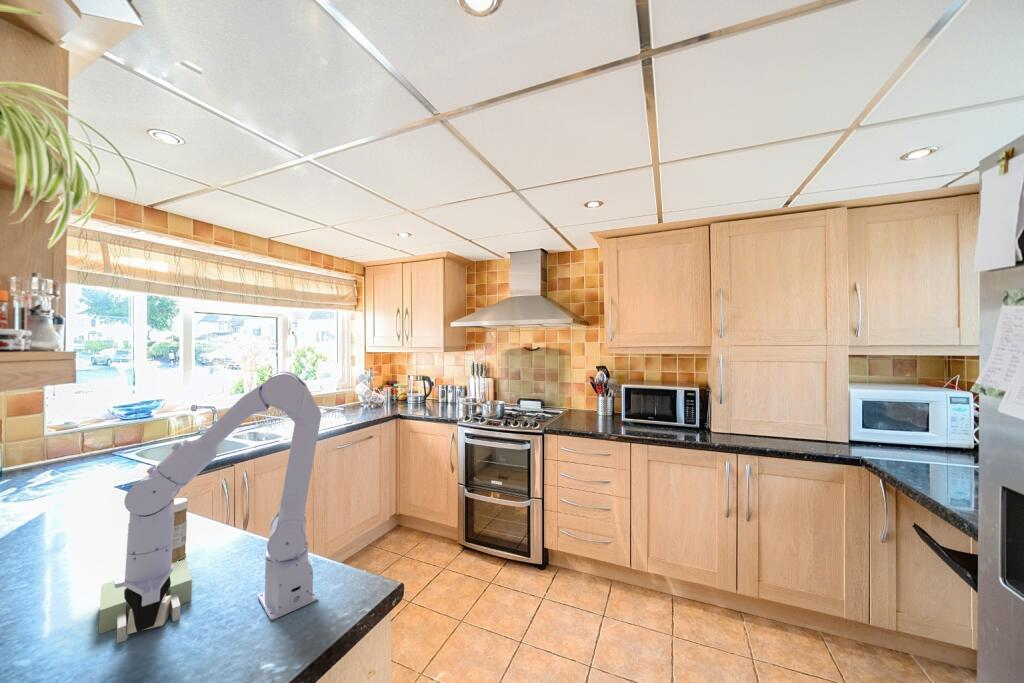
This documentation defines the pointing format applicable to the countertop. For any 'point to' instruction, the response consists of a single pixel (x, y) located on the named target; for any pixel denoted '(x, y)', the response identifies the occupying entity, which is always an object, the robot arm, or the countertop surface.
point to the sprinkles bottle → (179, 529)
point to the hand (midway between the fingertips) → (145, 627)
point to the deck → (117, 608)
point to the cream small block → (160, 619)
